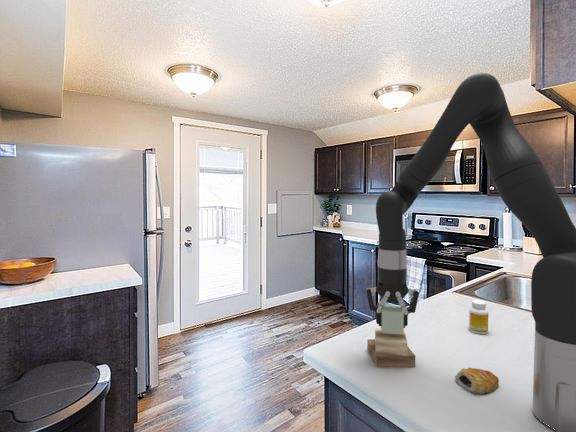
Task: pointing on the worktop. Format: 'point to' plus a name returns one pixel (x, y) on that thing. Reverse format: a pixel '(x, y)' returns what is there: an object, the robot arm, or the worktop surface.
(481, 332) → the supplement bottle
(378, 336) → the block top
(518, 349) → the worktop surface
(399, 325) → the sage block
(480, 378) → the pastry
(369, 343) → the block bottom
